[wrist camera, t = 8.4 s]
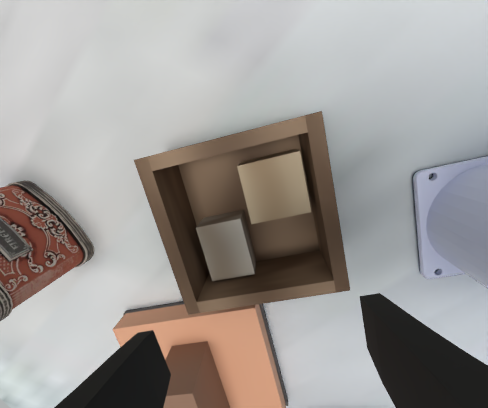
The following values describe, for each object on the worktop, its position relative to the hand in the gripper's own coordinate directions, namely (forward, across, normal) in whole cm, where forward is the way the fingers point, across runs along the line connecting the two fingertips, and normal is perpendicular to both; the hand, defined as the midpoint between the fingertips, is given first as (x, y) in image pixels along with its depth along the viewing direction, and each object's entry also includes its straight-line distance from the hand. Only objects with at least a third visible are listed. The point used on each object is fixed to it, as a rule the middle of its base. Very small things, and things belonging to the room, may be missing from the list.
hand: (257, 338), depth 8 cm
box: (+10, 0, -2) cm, 11 cm away
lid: (+9, +7, +11) cm, 16 cm away
